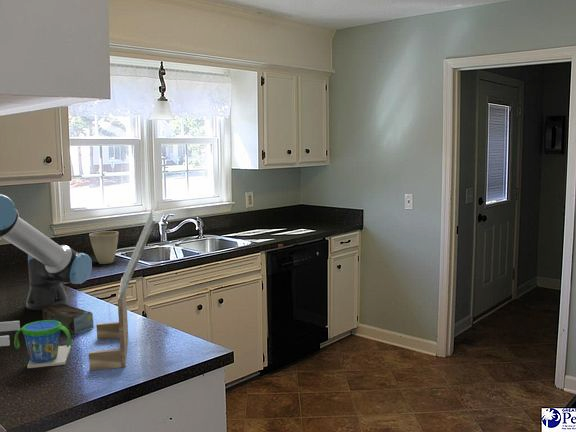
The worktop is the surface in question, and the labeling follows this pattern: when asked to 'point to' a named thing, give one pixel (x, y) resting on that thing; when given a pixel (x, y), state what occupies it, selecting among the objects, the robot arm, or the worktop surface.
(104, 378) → the worktop surface
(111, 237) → the plant pot
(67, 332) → the snack cup
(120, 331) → the tan tall piece
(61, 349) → the paving slab
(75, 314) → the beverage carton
